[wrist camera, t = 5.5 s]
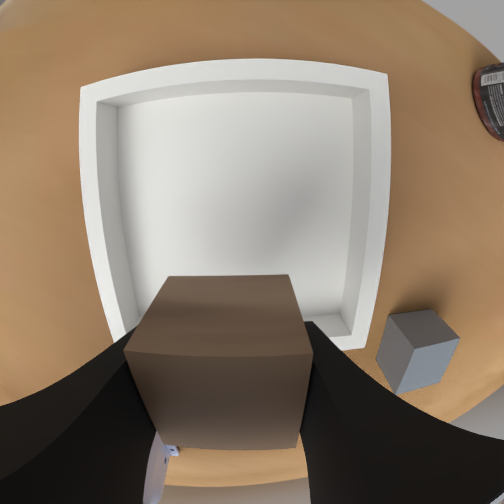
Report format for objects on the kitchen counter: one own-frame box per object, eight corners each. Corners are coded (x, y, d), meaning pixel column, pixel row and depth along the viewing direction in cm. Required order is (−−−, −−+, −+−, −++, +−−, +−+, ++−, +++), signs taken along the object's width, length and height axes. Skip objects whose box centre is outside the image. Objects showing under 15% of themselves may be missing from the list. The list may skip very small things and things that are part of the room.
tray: (348, 319, 16) (364, 347, 14) (133, 321, 16) (116, 349, 13) (362, 87, 12) (387, 74, 9) (108, 97, 12) (80, 87, 9)
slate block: (416, 350, 18) (439, 382, 14) (375, 358, 18) (395, 395, 14) (431, 308, 17) (460, 337, 13) (387, 314, 16) (414, 349, 13)
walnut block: (283, 364, 10) (295, 447, 6) (184, 364, 10) (163, 444, 6) (288, 274, 9) (313, 353, 5) (168, 276, 9) (123, 350, 5)
